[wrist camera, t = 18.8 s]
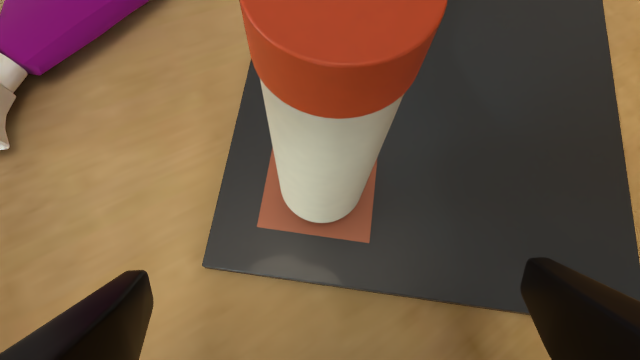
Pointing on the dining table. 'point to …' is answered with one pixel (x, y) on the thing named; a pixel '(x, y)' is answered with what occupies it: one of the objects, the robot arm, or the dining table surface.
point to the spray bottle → (48, 38)
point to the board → (459, 170)
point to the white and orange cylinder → (334, 89)
